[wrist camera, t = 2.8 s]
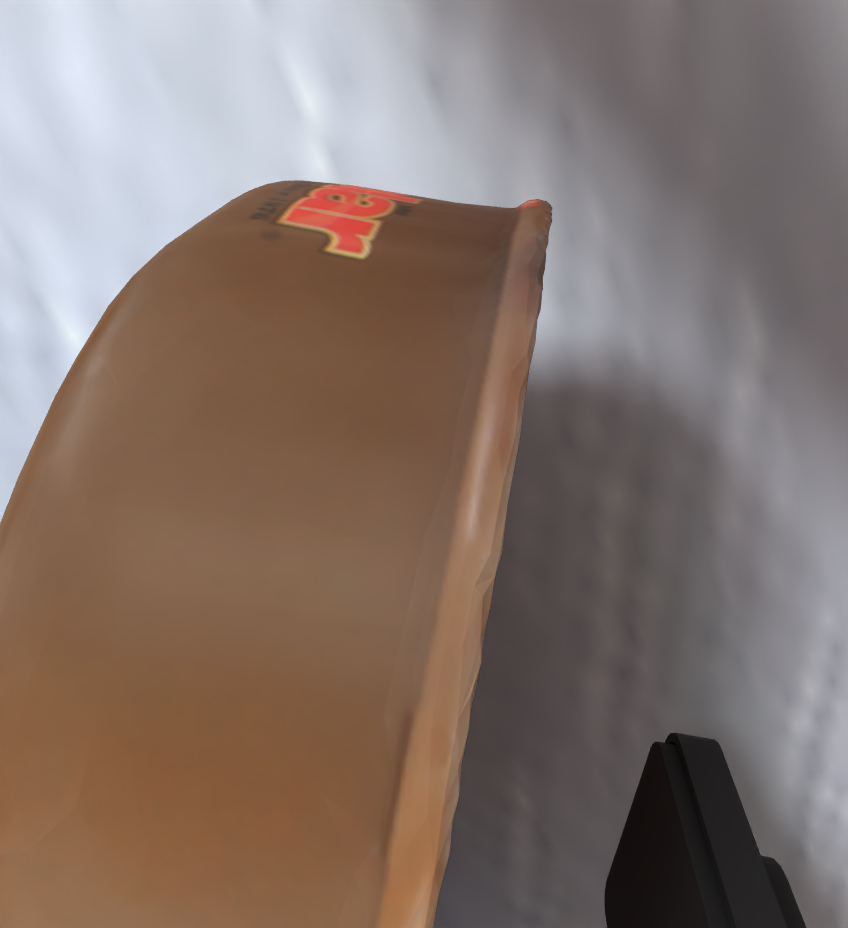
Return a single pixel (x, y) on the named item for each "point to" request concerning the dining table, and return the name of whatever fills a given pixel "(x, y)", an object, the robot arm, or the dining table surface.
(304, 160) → the dining table surface
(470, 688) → the tin
